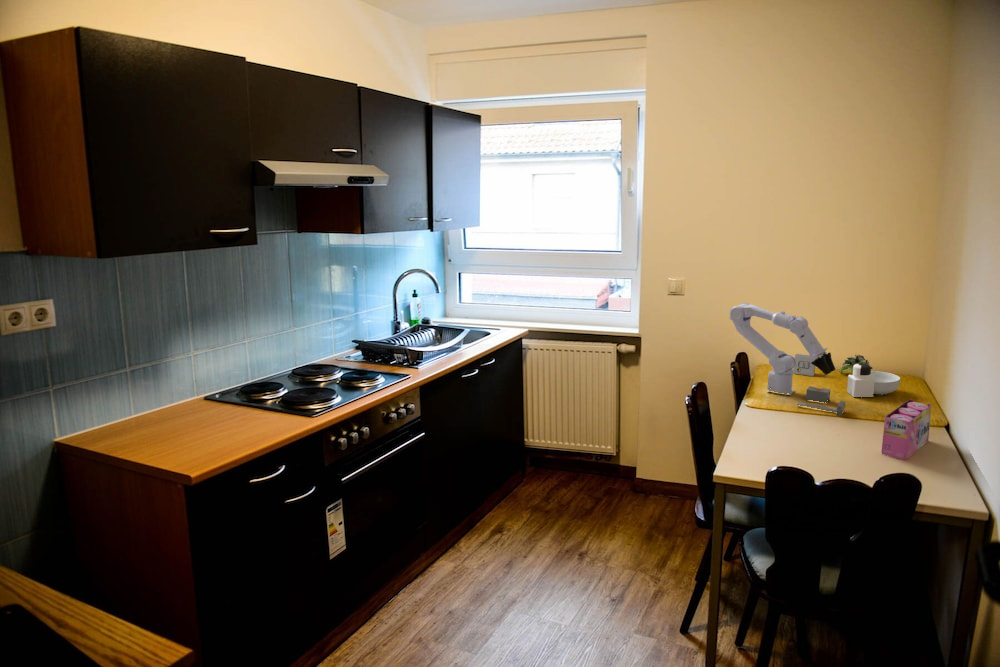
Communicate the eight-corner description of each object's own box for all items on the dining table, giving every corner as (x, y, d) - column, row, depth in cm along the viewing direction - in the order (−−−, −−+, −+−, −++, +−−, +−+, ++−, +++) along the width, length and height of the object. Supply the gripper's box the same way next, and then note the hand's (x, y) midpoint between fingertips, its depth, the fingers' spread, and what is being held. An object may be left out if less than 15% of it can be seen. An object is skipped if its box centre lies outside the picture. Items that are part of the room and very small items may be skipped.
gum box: (905, 434, 255) (909, 398, 252) (930, 440, 249) (934, 403, 246) (880, 454, 239) (884, 416, 236) (906, 460, 234) (910, 421, 230)
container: (865, 391, 300) (868, 362, 297) (873, 397, 293) (876, 367, 290) (846, 392, 301) (848, 362, 298) (853, 398, 294) (856, 367, 291)
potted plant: (857, 384, 328) (875, 364, 324) (856, 386, 318) (875, 366, 314) (836, 368, 332) (854, 348, 328) (834, 370, 322) (853, 350, 318)
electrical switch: (792, 373, 329) (794, 354, 327) (795, 372, 333) (797, 352, 331) (813, 377, 323) (815, 356, 322) (816, 375, 327) (818, 355, 326)
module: (805, 401, 292) (806, 387, 291) (808, 397, 296) (809, 384, 295) (826, 404, 288) (827, 391, 286) (829, 400, 292) (830, 387, 290)
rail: (795, 409, 284) (796, 399, 283) (800, 404, 289) (800, 394, 288) (840, 416, 274) (841, 406, 273) (844, 411, 280) (845, 401, 279)
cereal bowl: (875, 384, 310) (877, 368, 308) (908, 395, 295) (910, 378, 293) (844, 389, 305) (845, 373, 303) (876, 401, 289) (877, 384, 288)
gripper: (815, 340, 283) (835, 370, 280) (824, 336, 295) (844, 364, 291) (799, 349, 287) (819, 378, 284) (809, 345, 299) (828, 373, 295)
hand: (830, 372), depth 288 cm, fingers open, 7 cm apart
